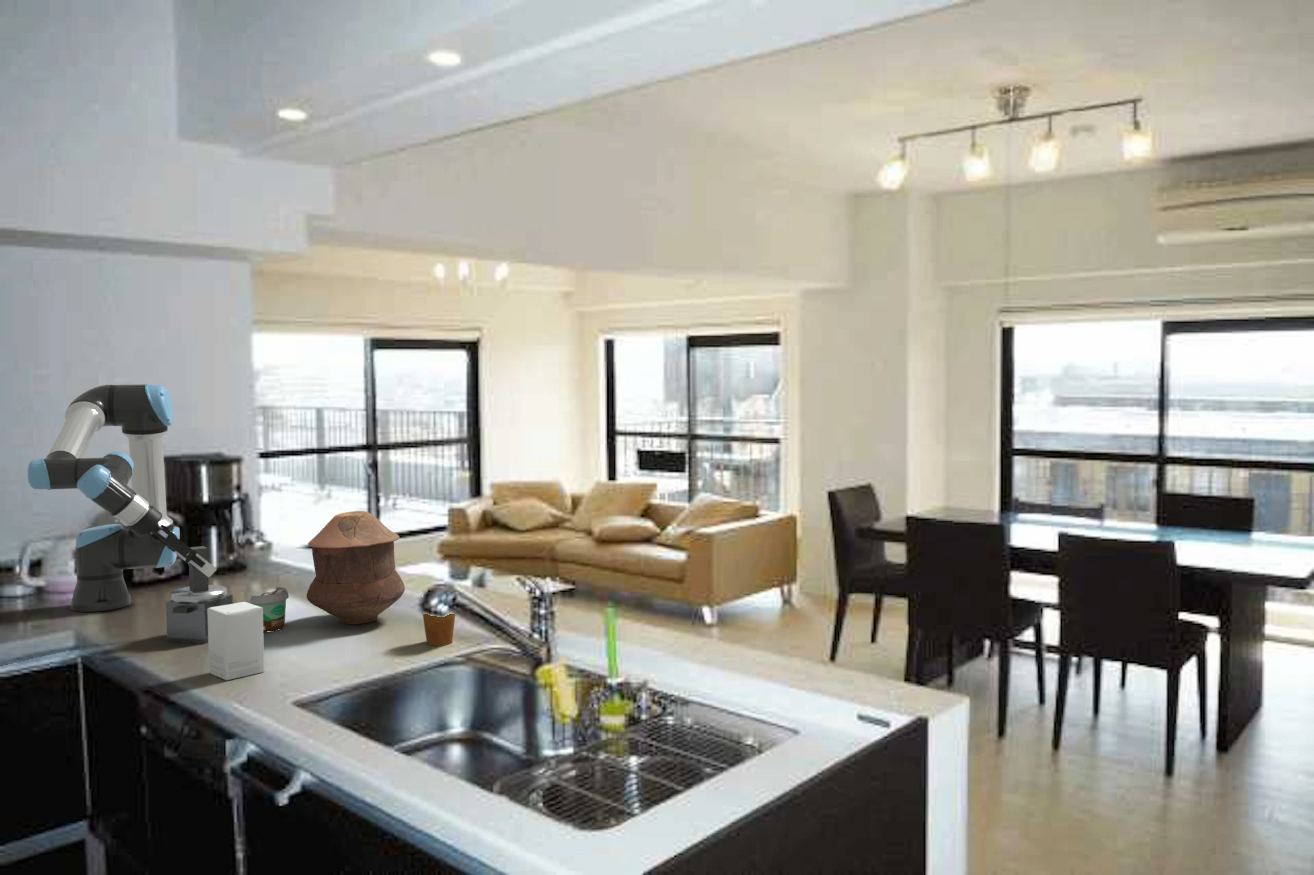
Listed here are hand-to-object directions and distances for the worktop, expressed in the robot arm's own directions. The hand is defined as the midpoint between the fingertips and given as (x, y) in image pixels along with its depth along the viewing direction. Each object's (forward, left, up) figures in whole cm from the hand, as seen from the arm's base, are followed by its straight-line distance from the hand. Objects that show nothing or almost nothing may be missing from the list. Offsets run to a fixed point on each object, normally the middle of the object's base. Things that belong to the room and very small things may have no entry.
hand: (205, 569), depth 249 cm
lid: (+1, -1, -7) cm, 8 cm away
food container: (-10, +13, -18) cm, 24 cm away
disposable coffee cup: (-7, +61, -18) cm, 64 cm away
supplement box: (+26, +27, -18) cm, 42 cm away
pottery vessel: (-22, +30, -18) cm, 41 cm away
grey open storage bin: (+1, -1, -17) cm, 17 cm away
